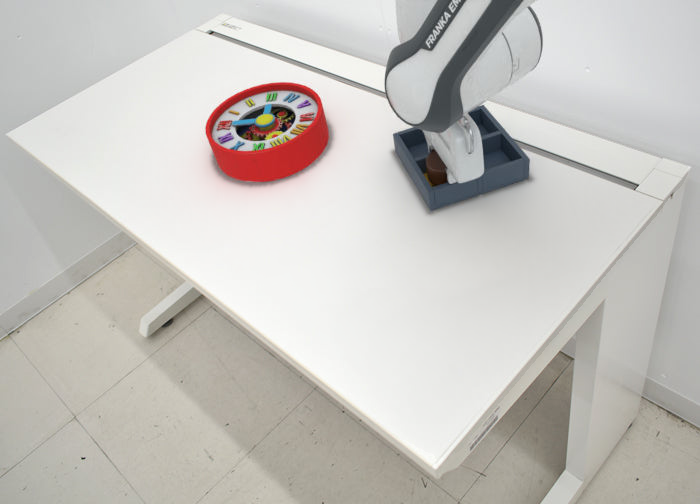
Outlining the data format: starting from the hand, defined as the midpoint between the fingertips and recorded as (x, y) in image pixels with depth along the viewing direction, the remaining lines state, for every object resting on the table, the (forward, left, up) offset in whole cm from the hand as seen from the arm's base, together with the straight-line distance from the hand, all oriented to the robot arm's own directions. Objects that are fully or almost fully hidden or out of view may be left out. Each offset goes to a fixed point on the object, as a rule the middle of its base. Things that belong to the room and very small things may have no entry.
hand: (444, 166), depth 88 cm
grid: (-4, -4, -4) cm, 6 cm away
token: (0, 0, -2) cm, 2 cm away
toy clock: (+22, -24, -4) cm, 33 cm away
